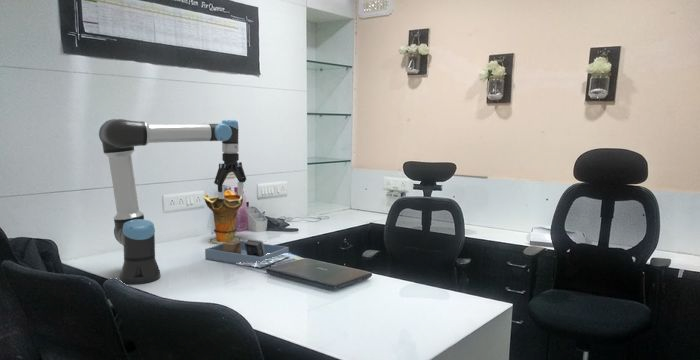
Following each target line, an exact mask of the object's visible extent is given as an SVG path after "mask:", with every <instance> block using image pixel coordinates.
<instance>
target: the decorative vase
mask: <svg viewBox="0 0 700 360" xmlns="http://www.w3.org/2000/svg"><path fill="white" fill-rule="evenodd" d="M244 193H245V192H244V190H243V194H244ZM202 199H203V200H204V202H205V203H206V207H207V208H208V209H209V210H210V211H212V212H213V213H212V214H213V219H214V220H213V221H214V227H215V228H214V230H213V232H214V233H215V236H216V237H214V238H211V237H210V239H209V240H208V242H209V243H211V244H216V245H220V244H223V243H225V242H228V241H234V240H241V241H243V239H242V238H240V237H235V234H236V231H237V228H236V227H237V215H238V211H239V210H240V208H241V207H242V205H243V201H244V195H243V196H239V195H238V191H236V193H234V192H233V191H232V190H230V189H227V190H224V199H219V195H216V196H210V194H209V193H206V194H203V196H202ZM213 232H212V233H211V235H213Z"/></svg>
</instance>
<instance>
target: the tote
mask: <svg viewBox="0 0 700 360" xmlns="http://www.w3.org/2000/svg"><path fill="white" fill-rule="evenodd" d="M234 241H237V242H241V254H238V253H231V252H225V251H223V244H216V245H214V246H210V247H207V248H205V249H204V252H205V253H204V254H205V256H204V257H205V258H204V259H205V260H206V261H207V260H208V261H214V262H217V263H223V264H230V265H235V264H236V263H238V262H243V261H248V262H256V261H257V262H258V261H260V262H261V261H263V260H265V259H269V258H272V257H275V256H278V255H280V254H283V253H290V252H289V251H290V250H289V249H290V247H289V246H284V245H283V246H281V245H276V244H275V245H274V244H270V243H269V244H268V243H263V245H264V249H265V254H267V253H270V254H267V255H264V256H262V257H257V256H250V255H247V252H246V248H245V243H246V242H247V241H246V240H242V241H241V240H234Z"/></svg>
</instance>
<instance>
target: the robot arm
mask: <svg viewBox="0 0 700 360" xmlns="http://www.w3.org/2000/svg"><path fill="white" fill-rule="evenodd" d="M98 137H99V140H100V142H101V144H102V150H103V151H102V152H103V154H104V155H105V156H107V157H108V163H109V169H110V175H111V182H112V183H111V184H112V189H113V194H114V201H115V208H116V214H115V216H114V217H113V220H114V221H113V222H114V229H113V234H114V237H115V240H116V241H117V242H118V243H119V244H121V246H123V263H122V267H121V271H120V274H119V281H120V280H121V281H122V282H124V283H123V284H126V285H140V284H146V283H147V284H149V283H152V282H154V281H158V280H159V279H160V278H161V271H160V267H159V265H158V263H157V259H156V249H155V248H156V242H155V241H156V240H155V239H156V238H155V232H156V229H155V225H154V223H153V222H152V221H151V220H148V219H145V215H144V213H143V212H142V211H141V210H140V209H139V201H138V194H137V187H136V186H137V185H136V180H135V173H134V172H135V171H134V168H133V167H134V166H133V159H132V154H133V153H134V152H135V147H142V146H147V145H149V144H152V143H155V144H156V143H157V144H158V143H160V144H161V143H190V142H221V146H222V147H221V152H222V153H221V154H222V159H221V160H222V162H223V163H222V162H221V163H219V164H218V169H217V173H216V174H215V175H216V176H215V178H214V182H213V184H215V185H216V186H217V192H218V195H217V196H219V199H224V193H225V185H224V183H225V181H226V178H227V177H228V175H229V174H230V173H233V174H234V176H235V178H236V179H237V192H238V195H239V196H243V197H244V193H243V191H244V183H245V182H246V181H247V177H246V175H245V171H244V168H243V162H242V161H240V162H239V160H240V159H239V158H240V157H239V121H237V120H236V119H222V121H221V122H220V123H147V122H146V121H140V120H139V121H136V120H128V119H123V118H118V119H117V118H112V119H109V120H106V121H105V122H103V124H101V126H100V127H99V131H98ZM122 282H121V283H122Z"/></svg>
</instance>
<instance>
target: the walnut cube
mask: <svg viewBox="0 0 700 360" xmlns="http://www.w3.org/2000/svg"><path fill="white" fill-rule="evenodd" d="M223 251H225V252H231V253H238V254H241V242H237V241H228V242H225V243H223Z"/></svg>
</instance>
